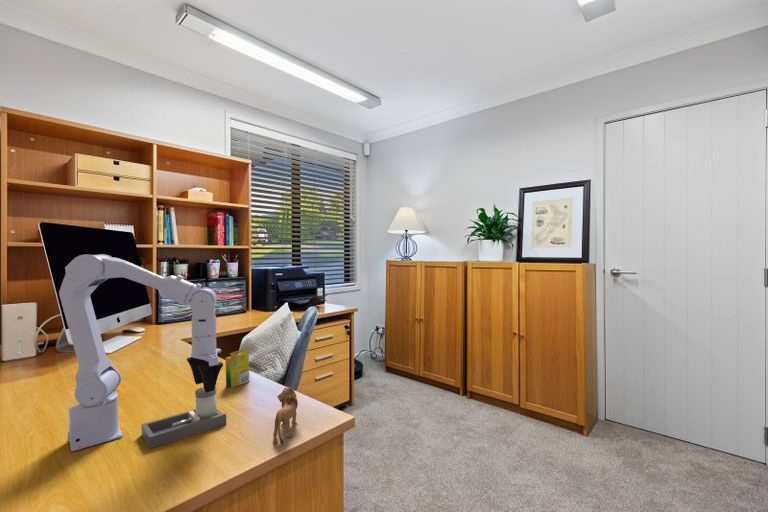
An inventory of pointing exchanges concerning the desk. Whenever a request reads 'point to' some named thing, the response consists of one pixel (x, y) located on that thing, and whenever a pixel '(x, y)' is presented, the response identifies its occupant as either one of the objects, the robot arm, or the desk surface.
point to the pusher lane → (178, 428)
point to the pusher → (192, 418)
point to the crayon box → (237, 368)
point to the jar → (205, 403)
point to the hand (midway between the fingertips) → (204, 387)
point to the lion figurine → (285, 413)
